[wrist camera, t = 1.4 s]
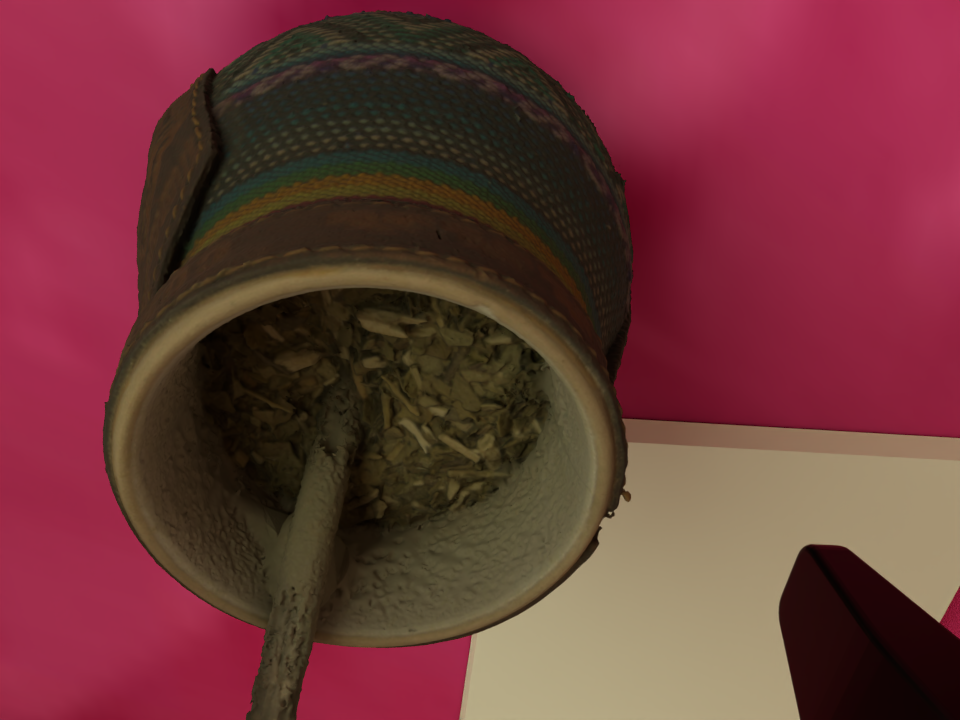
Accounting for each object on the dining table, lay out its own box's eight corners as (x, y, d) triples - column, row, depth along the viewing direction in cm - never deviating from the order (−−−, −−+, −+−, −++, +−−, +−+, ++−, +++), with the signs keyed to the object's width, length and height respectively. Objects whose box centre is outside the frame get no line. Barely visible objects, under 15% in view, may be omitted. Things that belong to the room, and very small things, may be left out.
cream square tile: (845, 748, 26) (856, 774, 25) (456, 739, 25) (457, 766, 24) (1006, 440, 20) (1026, 464, 19) (505, 411, 19) (508, 435, 18)
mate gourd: (657, 21, 15) (948, 376, 7) (536, 393, 19) (622, 900, 11) (200, -87, 14) (-142, 181, 5) (175, 334, 18) (-43, 856, 9)
